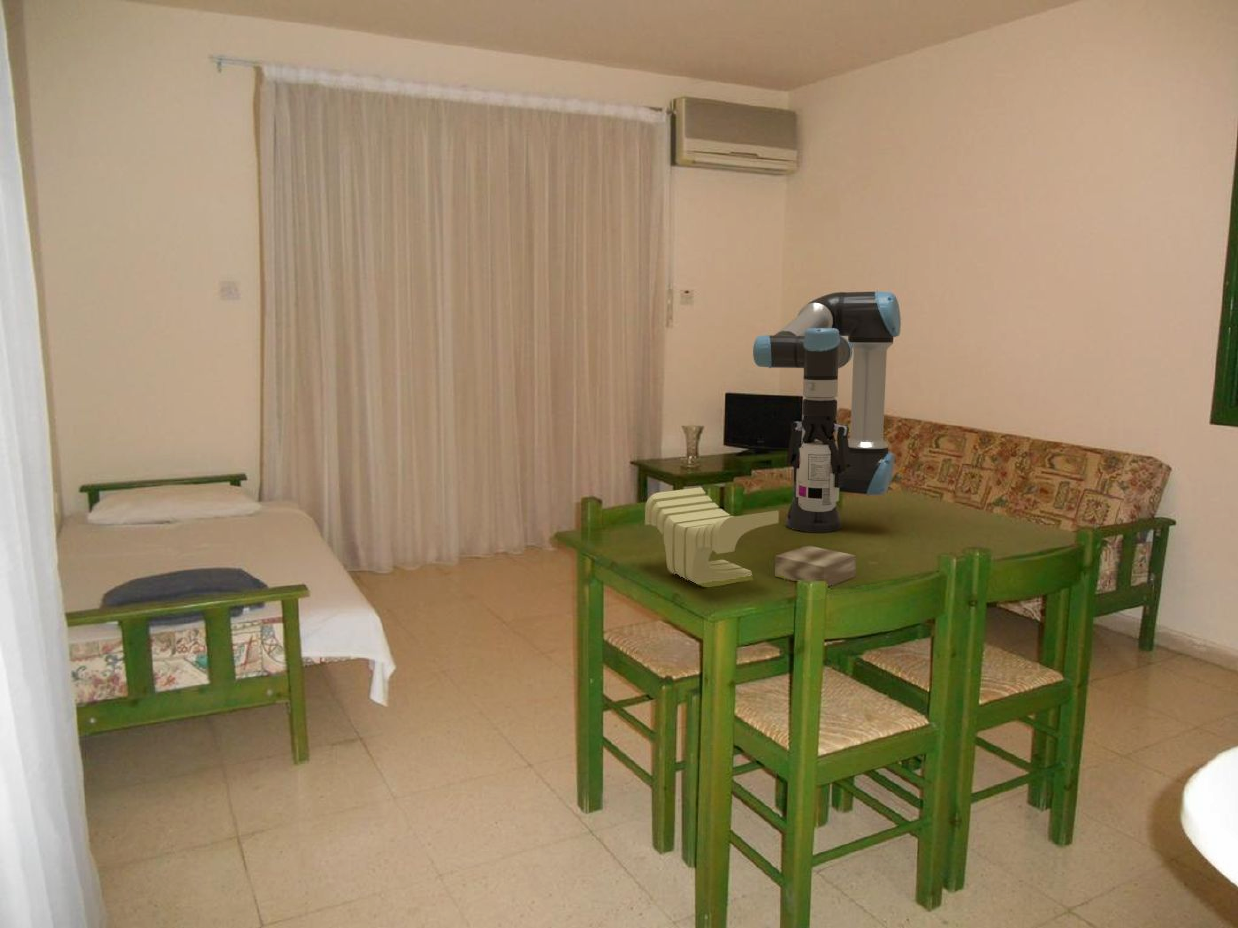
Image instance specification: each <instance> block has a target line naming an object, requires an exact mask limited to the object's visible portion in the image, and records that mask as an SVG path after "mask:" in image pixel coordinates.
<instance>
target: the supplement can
mask: <svg viewBox="0 0 1238 928" xmlns="http://www.w3.org/2000/svg"><path fill="white" fill-rule="evenodd" d="M802 442H803V441H802ZM801 444H802V443H801ZM800 446H801V445H800ZM799 448H800V447H799ZM830 460H831V451H830V449H829V447H828V445H823V443H822V441H819V440H815V441H814V442H811V443H804V442H803V444H802V446H801V448H800V458H799V499H798V505H799V506H800V507H801V509H803V510H806V511H813V512H825V511H831V510H832V509H833V508H834V507H835V506H836V504H837V502H833V503H831V502H829V495H830V473H832V472H833V469H832V466H831V463H830Z"/></svg>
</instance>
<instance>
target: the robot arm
mask: <svg viewBox="0 0 1238 928" xmlns="http://www.w3.org/2000/svg"><path fill="white" fill-rule="evenodd" d="M901 320H902V319H901V311H900V306H899V300H898V299H897V296H896V295H895V294H894V293H893V292H890V291H880V290H879V291H878V290H876V291H849V292H848V291H846V292H844V291H839V292H831V293H829V294H826V295H825V294H824V295H823V296H822V295H821V296H819V297H817V298H814V299H813V300H811V301H810V302H807V303H806V304H805V305H803V306H802V307H801V309H800V310H799V311H798V314H797V316H796V317H795V318H794V319H792V320H791V321H790V322H789V323H787V324H786V325H785V326H783V327H782V328H781V329H780V330H779V331H777V333H775V334H774V335H770V334H767V335H758V336H757V337H756V338H755V340H754V343H753V347H752V356H753V361H754V364H755V365H756V366H758V367H762V368H768V369H772V368H774V369H779V368H781V369H783V368H784V369H803V379H802V380H803V383H802V396H803V397H804V399H803V400H802V410H801V411H802V415H803V418H802V420H801V421H799V420H797V421H791V423H790V430H791V433H790V439H789V443H788V444H789V445H788V450H787V455H786V462H785V463H786V464H787V465H790V466H792V467H793V485H792V487H793V489H792V490H793V491H792V495H793V496H792V501H791V504H790V507H789V509H788V511H787V512H788V513H787V514H786V515H787V516H786V520H785V521H786V522H785V525H787V526H788V527H789V528H788V527H787V526H786V527H787V528H788V529H790V528H794V529H797V530H801V531H800V532H803V531H805V533H806V532H807V533H830V532H836V531H839V530H840V529H841V528H842V518H841V515H840V511H839V508H838V504H837V502H839V501H840V493H844V494H845V493H847V494H857V495H858V494H859V495H866V496H869V495H870V496H873V495H874V496H881V495H884V494H885V493H886V492H887V490H888V489H889V487H890V485H891V482H892V478H893V475H894V469H895V454H894V453H892V452H891V451H889V444H888V443H887V442H886V441H885V440H884V426H885V425H884V424H885V423H884V422H885V420H884V419H885V403H886V402H885V399H886V379H887V377H886V376H887V357H888V355H887V353H888V349H889V348H890V347H891V346H892V345H893V344H894V338H896V337H899V336H900V334H901V327H902V326H901V325H902V323H901ZM846 337H847V338H846ZM852 356H853V358H852ZM851 359H852V379H851V380H852V381H851V382H852V383H851V405H850V406H851V407H850V408H851V410H850V411H851V412H850V428H849V426H848V425H840V424H838V423H837V415H838V400H837V399H836V398H837V397H838V394H839V393H838V392H839V391H838V389H839V388H838V387H839V369H840V368H843V367H845V366H846V365H847V364H848V363H849V362H850V361H851ZM803 430H804V434H802V433H803ZM849 431H850V435H849ZM834 433H835V434H836V438H835V435H834ZM802 435H803V436H802ZM848 436H849V437H848ZM801 438H802V439H801ZM848 438H849V439H848ZM801 440H802V442H801ZM814 441H822V443H823V445H828V447H829V449H830V451H831V460H830V463H831V466H832V469H833V472H832V473H830V495H829V502H831V503H833V502H836V506H835V507H834V508H833V509H832V510H831V511H825V512H813V511H806V510H803V509H801V507H800V506H799V505H798V499H799V458H800V448H801V446H802V444H803V442H804V443H811V442H814ZM836 442H837V443H836ZM797 530H796V531H797Z"/></svg>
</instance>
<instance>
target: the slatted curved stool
mask: <svg viewBox="0 0 1238 928" xmlns="http://www.w3.org/2000/svg"><path fill="white" fill-rule="evenodd" d="M779 512H780V510H773V511H771V510H770V511H765V512H764V511H763V512H759V513H751V514H744V515H743V514H742V515H738V516H737V515H736V516H734V515H731V514H730V513H728V512H726V511H725V510H724V509H722V508H720V506H719V505H718V504H717V503H715V502H713V499H712V498H711V497H710V496H709V495H706V491H705V490H704V489H703V487H701V486H700V487H694V488H684V489H676V490H668V491H660V492H655V493H653V494H652V495H650V496H649V498H648V499H647V501H646V503H645V507H644V526H650V525H651V526H652V527H655V528H656V527H657V530H658V531H659V532H660V534H661V535H663V544H664V549H665V557H666V558H665V559H666V562H665V563H666V567H667V570H668V572H669V573H671V572H672V573H671V574H673V573H674V574H673V575H675V574H678V575H679V576H680V578H681V577H683V578H685V579H684V580H686V579H687V580H686V581H688V580H690V581H692V582H694V583H696V584H701V583H707V582H712V581H725V580H729V579H736V578H739V577H746V576H751V575H752V576H753V574H752V570H750V569H747V568H745V567H742V566H740V565H737V564H736V563H733V562H732V563H731V561H727V560H725V559H718V560H710V558H711V554H712V553H713V552H714V553H715V554H716V555H719V554H725V553H732V552H733V553H734V552H735V551H736V550H735V549H736V546H737V543H738V541H739V539H740V538H741V537H742V536H743V535H745V534H746V533H747V532H750V531H753V530H755V529H757V528H761V527H765V526H766V527H767V526H771V525H775V524H779V519H780V518H779V517H780V516H779V515H780V513H779ZM679 576H678V577H679ZM683 578H682V579H683ZM690 581H689V582H690ZM692 582H691V583H692ZM694 583H693V584H694ZM696 584H695V585H696Z"/></svg>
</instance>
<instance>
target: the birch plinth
mask: <svg viewBox="0 0 1238 928" xmlns="http://www.w3.org/2000/svg"><path fill="white" fill-rule="evenodd" d="M856 556H857V555H856V554H850V553H846V552H842V551H841V552H840V551H838V550H837V551H836V550H833V549H826V548H821V547H817V546H812V545H804V546H800V547H797V548H795V549H792V550H788V551H786V552H783V553H780V554H778V555H777V554H776V555H775V556H774V557H775V559H774V561H775V563H774V575H775V574H777V575H781V576H784V577H786V578H789V579H792V580H795V581H798V580H808V581H826V583H827V584H828V585H832V586H834V585H837V584H839V583H842V582H844V581H847V580H849V579H853V578H855V577H856V561H857V559H856V558H857V557H856Z"/></svg>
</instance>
